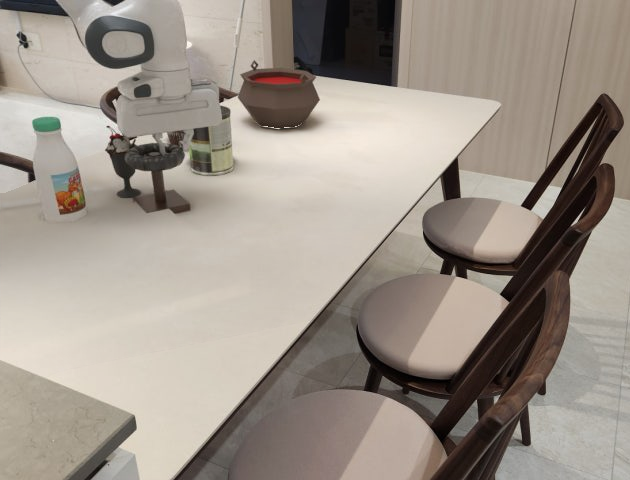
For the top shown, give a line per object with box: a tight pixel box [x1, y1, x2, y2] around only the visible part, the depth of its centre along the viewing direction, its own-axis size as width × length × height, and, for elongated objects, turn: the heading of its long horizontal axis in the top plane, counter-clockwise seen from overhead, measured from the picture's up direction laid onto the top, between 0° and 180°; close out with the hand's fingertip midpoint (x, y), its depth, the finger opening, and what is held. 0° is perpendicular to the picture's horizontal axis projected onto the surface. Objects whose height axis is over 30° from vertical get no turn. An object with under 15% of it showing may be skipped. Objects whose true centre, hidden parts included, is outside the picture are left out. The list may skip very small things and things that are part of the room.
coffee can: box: [188, 104, 235, 176], centre depth 150 cm, size 10×10×14 cm
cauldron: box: [237, 59, 321, 128], centre depth 185 cm, size 24×24×16 cm
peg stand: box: [131, 152, 191, 214], centre depth 129 cm, size 9×9×12 cm
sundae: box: [104, 125, 142, 199], centre depth 134 cm, size 7×7×15 cm
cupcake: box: [166, 130, 186, 148], centre depth 164 cm, size 10×10×10 cm
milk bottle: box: [31, 116, 88, 223], centre depth 120 cm, size 8×8×20 cm
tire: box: [125, 142, 186, 172], centre depth 127 cm, size 11×11×3 cm
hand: (175, 151), depth 129 cm, fingers closed on tire, 3 cm apart
